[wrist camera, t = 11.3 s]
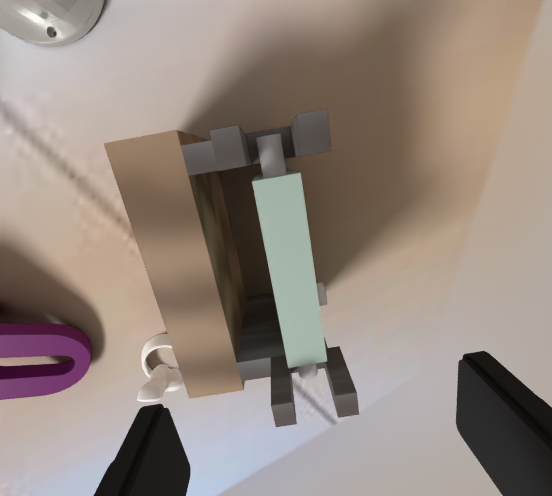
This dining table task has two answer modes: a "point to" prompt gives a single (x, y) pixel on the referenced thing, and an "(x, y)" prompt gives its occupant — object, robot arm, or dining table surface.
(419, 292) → the dining table surface
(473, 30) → the dining table surface
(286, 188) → the door
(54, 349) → the mounting bracket
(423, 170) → the dining table surface
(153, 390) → the hook
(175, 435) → the robot arm
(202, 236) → the cabinet
